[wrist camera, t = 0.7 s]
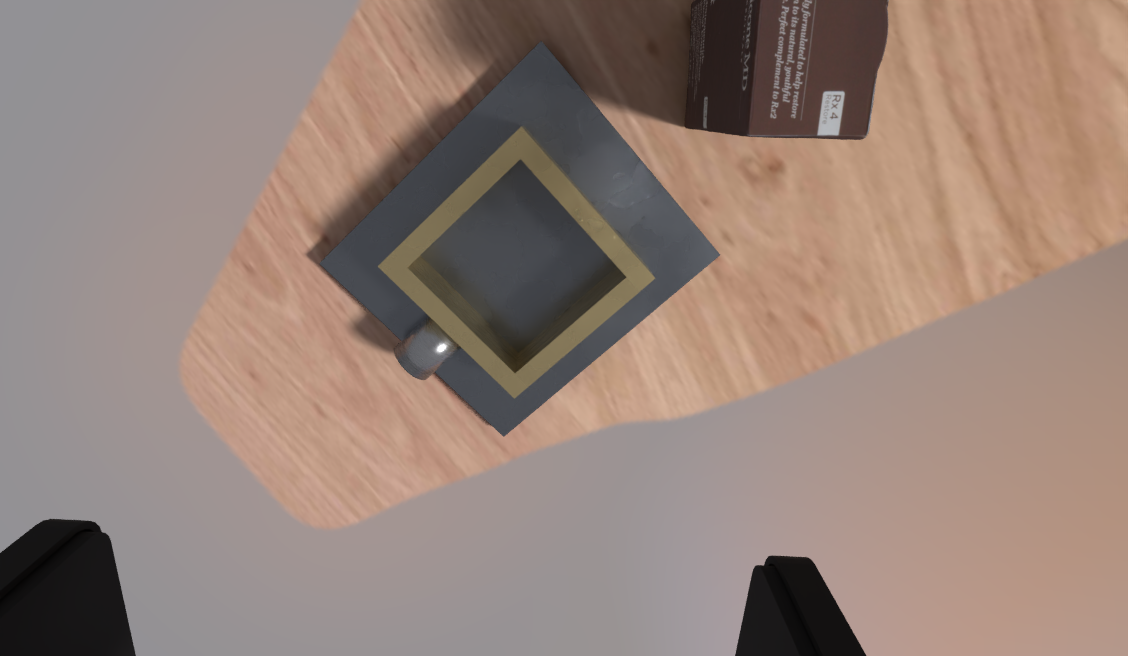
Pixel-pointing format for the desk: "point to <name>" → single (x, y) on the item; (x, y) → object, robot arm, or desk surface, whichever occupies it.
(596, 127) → the square socket base
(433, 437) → the desk surface
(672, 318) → the desk surface
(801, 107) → the box
